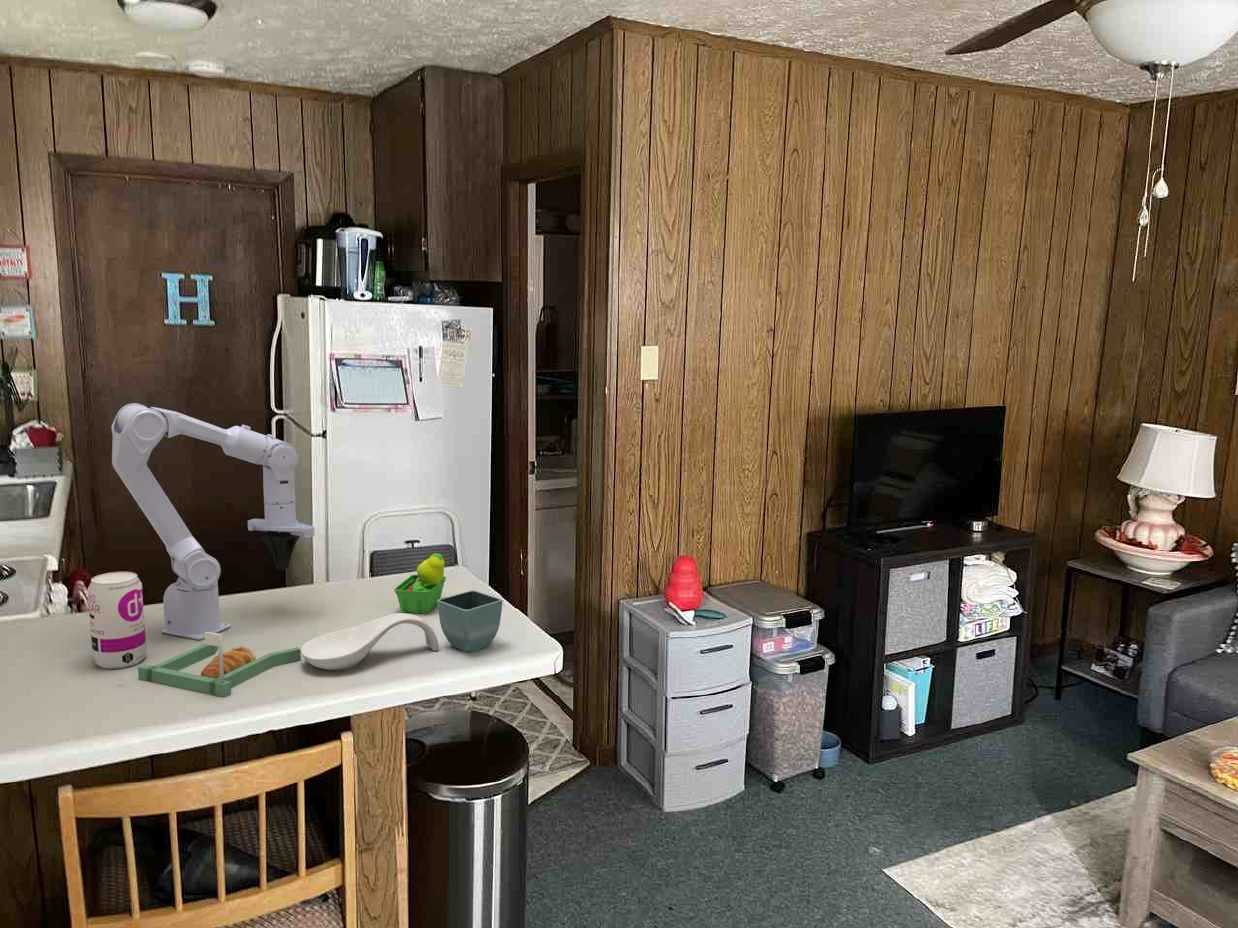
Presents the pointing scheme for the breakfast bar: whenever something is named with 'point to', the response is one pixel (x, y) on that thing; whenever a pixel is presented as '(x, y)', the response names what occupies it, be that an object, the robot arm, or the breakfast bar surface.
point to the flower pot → (470, 619)
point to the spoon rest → (358, 642)
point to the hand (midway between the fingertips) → (282, 568)
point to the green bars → (222, 685)
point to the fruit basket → (422, 586)
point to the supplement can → (117, 620)
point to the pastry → (228, 662)
